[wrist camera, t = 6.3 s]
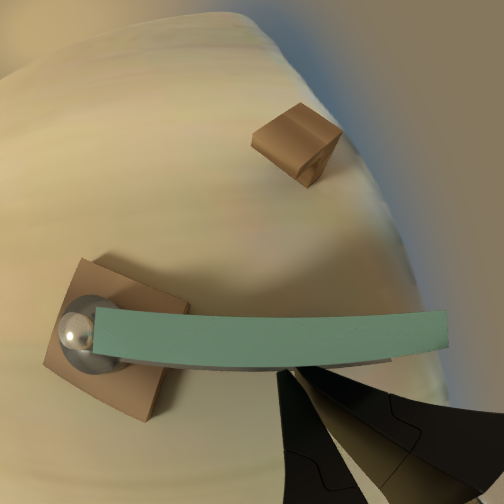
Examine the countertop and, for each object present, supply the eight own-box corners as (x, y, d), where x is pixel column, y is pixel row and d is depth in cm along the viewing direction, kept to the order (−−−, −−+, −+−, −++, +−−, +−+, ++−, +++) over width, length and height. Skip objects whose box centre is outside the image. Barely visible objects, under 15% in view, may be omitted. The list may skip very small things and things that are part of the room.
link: (73, 366, 14) (-40, 360, 5) (78, 298, 15) (-25, 242, 6) (374, 377, 15) (491, 379, 6) (372, 309, 17) (481, 262, 8)
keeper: (283, 211, 20) (299, 168, 15) (246, 181, 21) (252, 133, 16) (321, 174, 22) (342, 131, 17) (287, 148, 22) (300, 102, 18)
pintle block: (150, 418, 15) (145, 422, 13) (51, 365, 15) (42, 364, 14) (189, 304, 17) (187, 301, 16) (88, 263, 18) (81, 257, 17)
